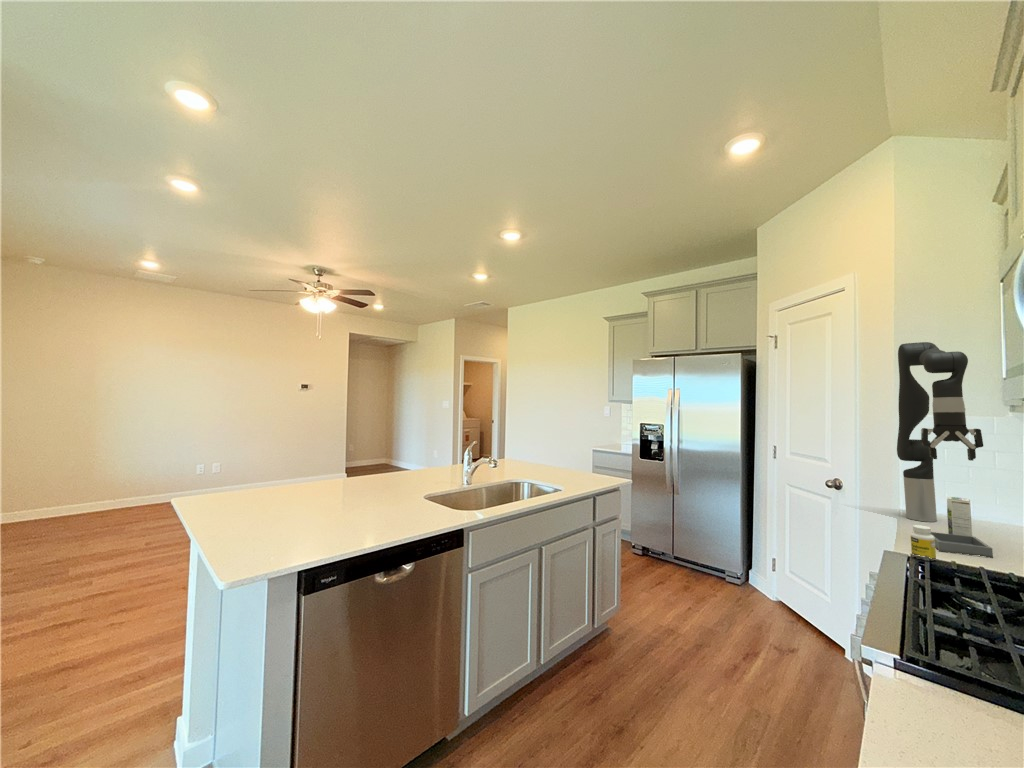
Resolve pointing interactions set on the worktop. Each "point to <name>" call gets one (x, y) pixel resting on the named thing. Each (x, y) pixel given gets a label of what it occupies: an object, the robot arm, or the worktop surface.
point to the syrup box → (959, 516)
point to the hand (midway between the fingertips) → (952, 459)
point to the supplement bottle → (923, 542)
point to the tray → (961, 544)
